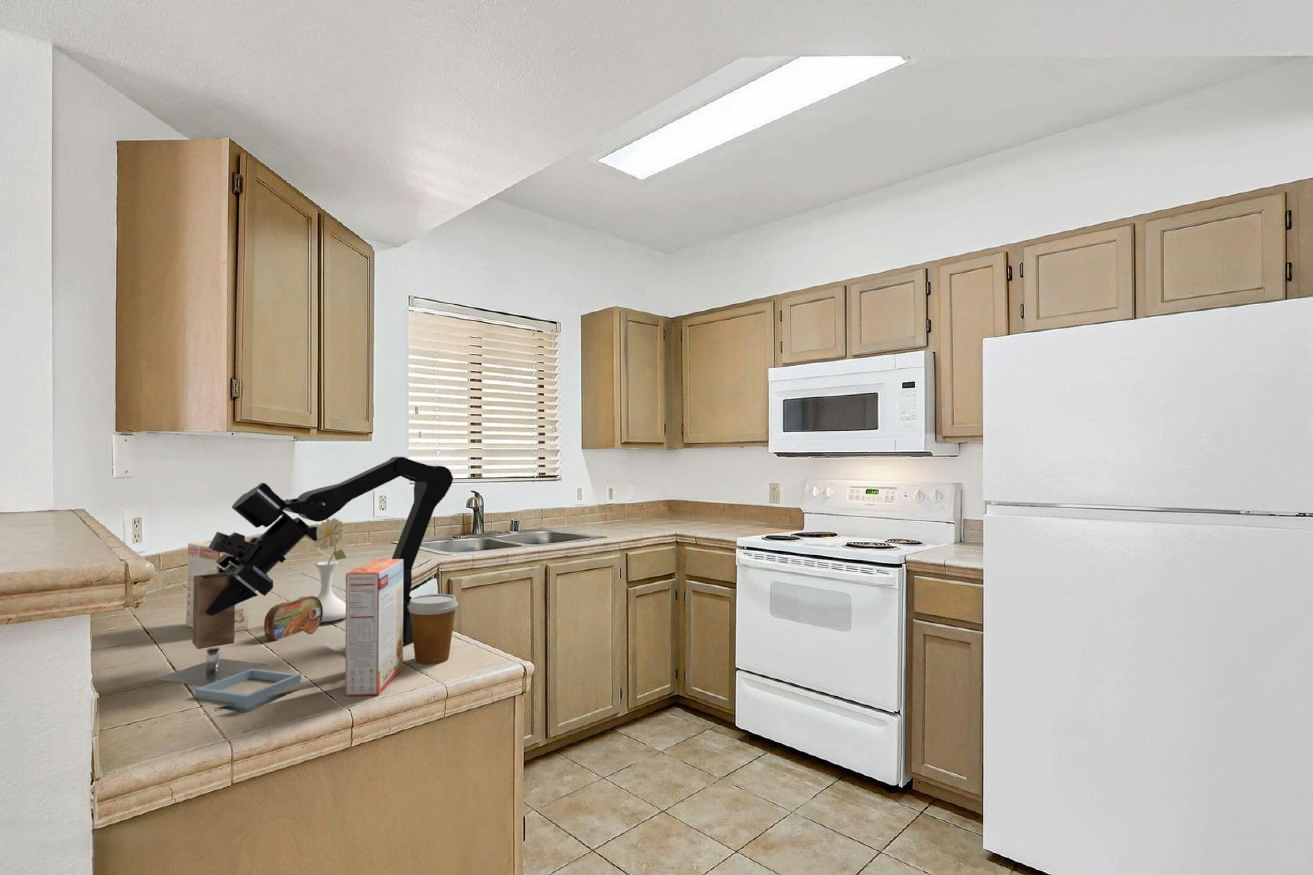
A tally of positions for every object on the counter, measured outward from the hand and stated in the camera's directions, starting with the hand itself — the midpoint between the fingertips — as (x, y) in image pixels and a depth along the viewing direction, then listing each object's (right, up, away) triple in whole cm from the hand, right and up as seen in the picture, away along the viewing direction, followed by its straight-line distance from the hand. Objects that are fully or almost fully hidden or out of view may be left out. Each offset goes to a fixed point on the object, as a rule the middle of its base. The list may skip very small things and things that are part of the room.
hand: (204, 611), depth 116 cm
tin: (+1, -13, +27) cm, 30 cm away
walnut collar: (+1, -6, +1) cm, 6 cm away
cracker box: (+31, -13, -1) cm, 33 cm away
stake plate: (+1, -12, +1) cm, 12 cm away
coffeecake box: (-21, -13, +34) cm, 42 cm away
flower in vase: (+1, -14, +41) cm, 43 cm away
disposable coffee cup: (+37, -13, +12) cm, 41 cm away
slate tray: (+13, -12, -8) cm, 19 cm away
